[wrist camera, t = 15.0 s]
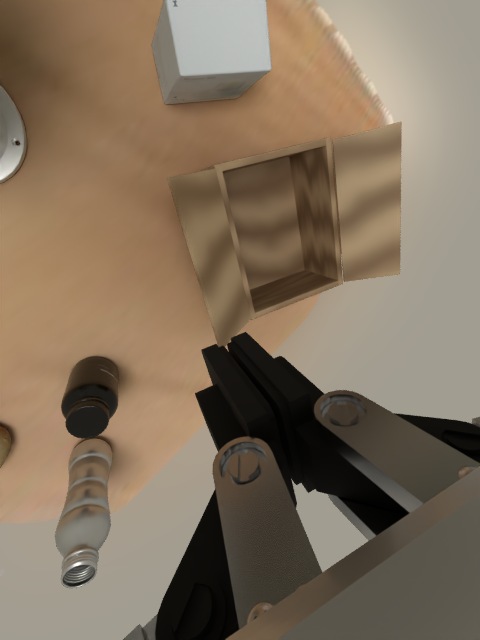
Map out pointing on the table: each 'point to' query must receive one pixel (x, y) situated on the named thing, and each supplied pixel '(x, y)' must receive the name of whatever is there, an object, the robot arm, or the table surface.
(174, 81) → the skincare box
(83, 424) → the supplement bottle
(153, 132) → the table surface
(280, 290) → the carton
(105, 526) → the plastic bottle
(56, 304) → the table surface
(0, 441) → the bread roll
